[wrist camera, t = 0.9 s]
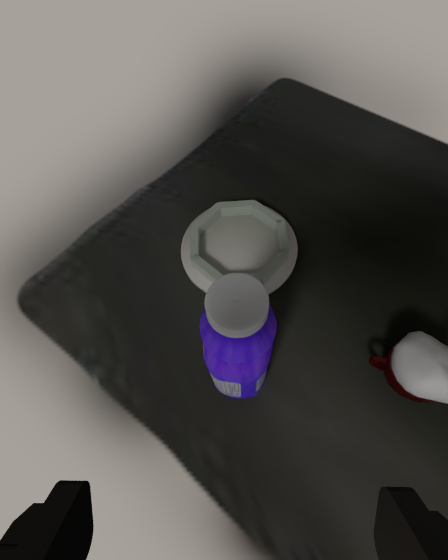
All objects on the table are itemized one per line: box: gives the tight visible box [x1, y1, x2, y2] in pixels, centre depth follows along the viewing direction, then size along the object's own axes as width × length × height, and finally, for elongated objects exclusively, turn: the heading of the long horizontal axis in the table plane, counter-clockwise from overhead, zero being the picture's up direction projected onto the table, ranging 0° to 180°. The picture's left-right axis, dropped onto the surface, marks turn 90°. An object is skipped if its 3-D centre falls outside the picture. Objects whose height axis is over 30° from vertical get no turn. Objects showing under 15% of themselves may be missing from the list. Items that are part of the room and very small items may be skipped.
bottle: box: [200, 273, 277, 398], centre depth 28 cm, size 7×6×17 cm
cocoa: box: [369, 331, 448, 403], centre depth 28 cm, size 10×6×12 cm, turn 54°
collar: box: [181, 200, 298, 295], centre depth 41 cm, size 15×15×2 cm
